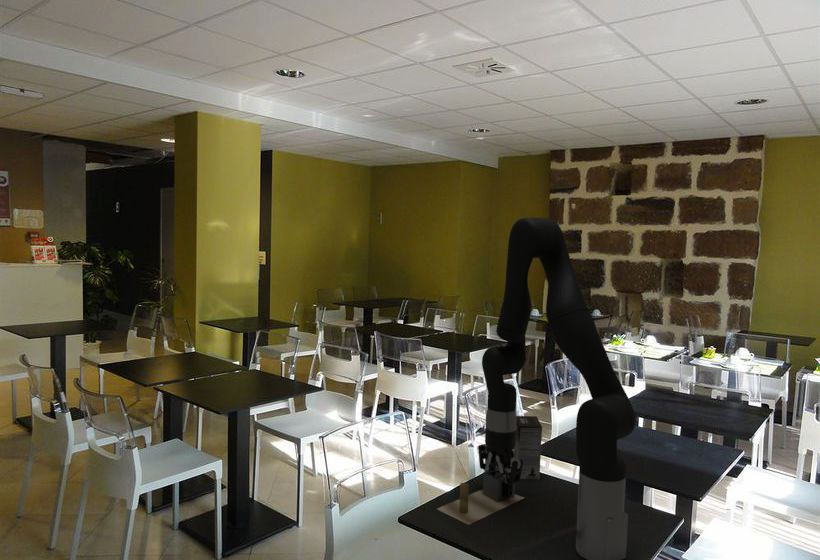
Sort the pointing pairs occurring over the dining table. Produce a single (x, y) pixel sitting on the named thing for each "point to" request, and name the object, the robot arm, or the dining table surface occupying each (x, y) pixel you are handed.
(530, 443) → the coffee box
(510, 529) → the dining table surface
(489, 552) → the dining table surface
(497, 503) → the board
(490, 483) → the collar
